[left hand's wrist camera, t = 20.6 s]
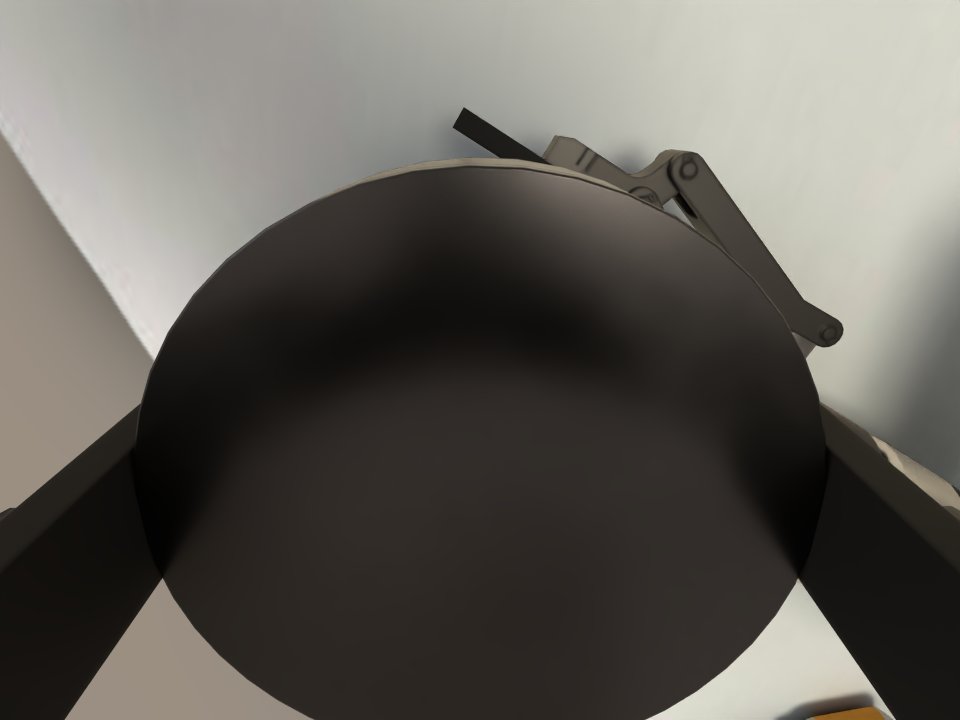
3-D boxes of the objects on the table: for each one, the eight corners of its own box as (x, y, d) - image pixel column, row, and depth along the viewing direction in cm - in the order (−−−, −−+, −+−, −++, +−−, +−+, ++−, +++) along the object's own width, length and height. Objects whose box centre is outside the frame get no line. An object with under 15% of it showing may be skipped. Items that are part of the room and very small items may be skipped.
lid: (736, 674, 14) (772, 751, 13) (240, 684, 14) (207, 762, 13) (826, 146, 10) (899, 151, 8) (118, 167, 10) (43, 178, 8)
